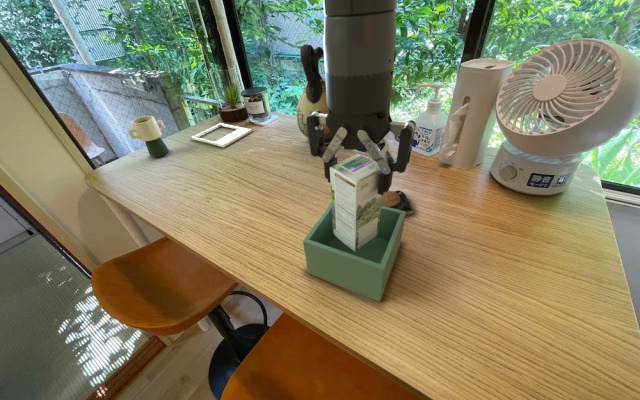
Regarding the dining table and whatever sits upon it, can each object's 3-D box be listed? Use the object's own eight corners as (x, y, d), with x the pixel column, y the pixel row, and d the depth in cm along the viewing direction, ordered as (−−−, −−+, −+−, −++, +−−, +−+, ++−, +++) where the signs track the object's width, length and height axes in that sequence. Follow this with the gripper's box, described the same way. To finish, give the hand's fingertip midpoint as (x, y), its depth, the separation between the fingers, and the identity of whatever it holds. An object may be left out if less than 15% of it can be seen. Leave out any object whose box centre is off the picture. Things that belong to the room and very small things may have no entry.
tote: (379, 302, 42) (384, 269, 36) (308, 273, 47) (302, 241, 42) (400, 244, 51) (406, 211, 45) (338, 225, 56) (336, 194, 51)
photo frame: (222, 144, 91) (191, 136, 99) (223, 147, 92) (192, 139, 100) (250, 128, 100) (220, 122, 109) (251, 131, 101) (221, 125, 109)
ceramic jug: (308, 130, 98) (298, 39, 80) (347, 132, 94) (346, 37, 75) (291, 150, 86) (274, 49, 67) (335, 154, 81) (330, 47, 63)
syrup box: (355, 220, 48) (356, 151, 39) (379, 237, 44) (386, 164, 35) (332, 235, 45) (327, 165, 37) (356, 254, 42) (356, 181, 33)
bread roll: (368, 221, 57) (369, 209, 54) (360, 198, 63) (361, 186, 61) (415, 216, 57) (418, 203, 54) (403, 193, 63) (404, 181, 61)
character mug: (171, 146, 97) (155, 112, 89) (179, 151, 93) (162, 116, 84) (141, 157, 91) (120, 122, 83) (148, 163, 87) (127, 127, 79)
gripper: (285, 70, 28) (303, 189, 38) (420, 75, 22) (398, 213, 33) (317, 56, 33) (325, 165, 43) (433, 57, 27) (411, 182, 38)
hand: (356, 185), depth 38 cm, fingers closed on syrup box, 7 cm apart
